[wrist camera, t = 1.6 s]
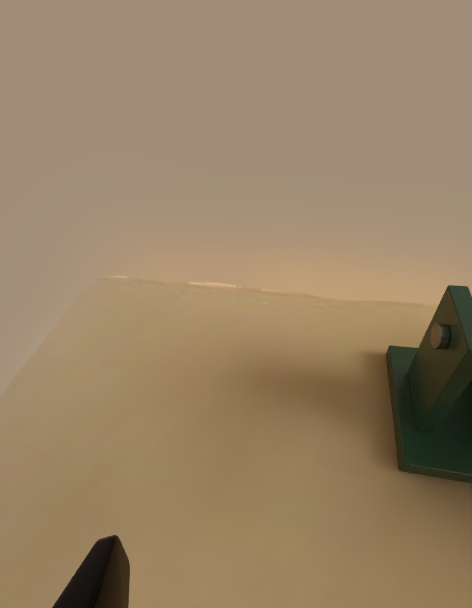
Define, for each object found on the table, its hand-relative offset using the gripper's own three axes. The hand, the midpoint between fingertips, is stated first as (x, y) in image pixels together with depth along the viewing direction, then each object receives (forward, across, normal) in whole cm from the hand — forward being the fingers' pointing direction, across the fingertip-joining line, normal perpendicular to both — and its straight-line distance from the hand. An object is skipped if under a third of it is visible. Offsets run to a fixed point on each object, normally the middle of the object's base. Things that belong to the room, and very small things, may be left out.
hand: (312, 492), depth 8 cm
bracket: (+12, -13, +10) cm, 20 cm away
